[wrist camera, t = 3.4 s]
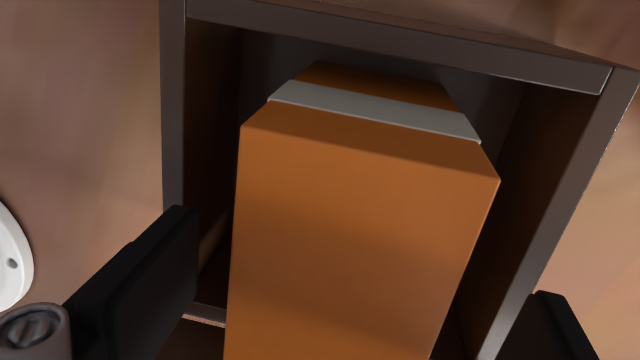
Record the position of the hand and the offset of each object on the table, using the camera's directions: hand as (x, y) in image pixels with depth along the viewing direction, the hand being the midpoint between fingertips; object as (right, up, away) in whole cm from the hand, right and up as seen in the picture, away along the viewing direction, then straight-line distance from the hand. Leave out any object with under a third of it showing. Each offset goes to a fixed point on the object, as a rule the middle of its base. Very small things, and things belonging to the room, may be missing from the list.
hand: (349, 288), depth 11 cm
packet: (+1, +4, +9) cm, 10 cm away
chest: (+1, +4, +10) cm, 11 cm away
